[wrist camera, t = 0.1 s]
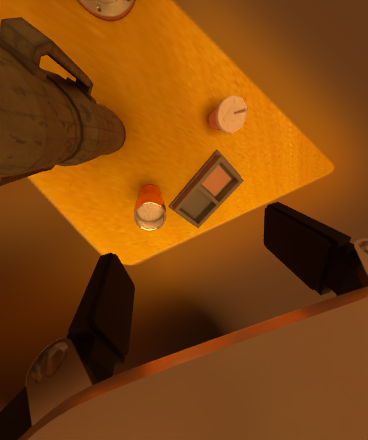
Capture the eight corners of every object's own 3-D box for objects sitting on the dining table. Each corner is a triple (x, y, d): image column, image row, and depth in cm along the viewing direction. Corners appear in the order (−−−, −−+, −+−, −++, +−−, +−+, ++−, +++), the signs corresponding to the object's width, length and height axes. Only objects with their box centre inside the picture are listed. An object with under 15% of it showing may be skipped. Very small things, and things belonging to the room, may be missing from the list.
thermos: (77, 144, 37) (-287, 173, 6) (95, 92, 33) (-560, -465, 3) (114, 165, 40) (3, 247, 10) (134, 119, 36) (57, 20, 6)
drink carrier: (168, 206, 48) (170, 212, 44) (216, 150, 43) (223, 151, 39) (193, 224, 53) (197, 231, 49) (239, 175, 48) (247, 179, 44)
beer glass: (163, 183, 45) (168, 202, 32) (161, 206, 48) (165, 231, 35) (137, 181, 43) (132, 200, 30) (137, 205, 46) (132, 231, 33)
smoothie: (230, 125, 41) (264, 119, 29) (209, 139, 42) (234, 139, 29) (220, 98, 38) (254, 79, 26) (198, 114, 38) (221, 102, 26)
